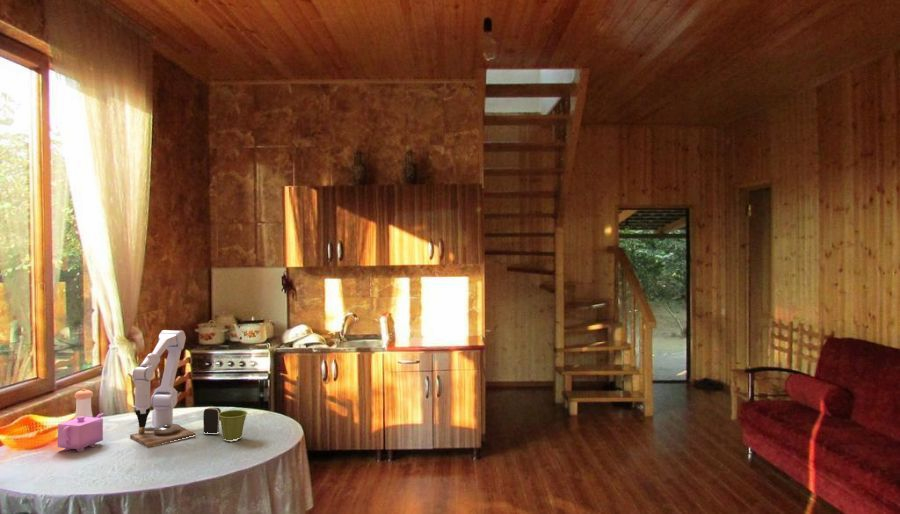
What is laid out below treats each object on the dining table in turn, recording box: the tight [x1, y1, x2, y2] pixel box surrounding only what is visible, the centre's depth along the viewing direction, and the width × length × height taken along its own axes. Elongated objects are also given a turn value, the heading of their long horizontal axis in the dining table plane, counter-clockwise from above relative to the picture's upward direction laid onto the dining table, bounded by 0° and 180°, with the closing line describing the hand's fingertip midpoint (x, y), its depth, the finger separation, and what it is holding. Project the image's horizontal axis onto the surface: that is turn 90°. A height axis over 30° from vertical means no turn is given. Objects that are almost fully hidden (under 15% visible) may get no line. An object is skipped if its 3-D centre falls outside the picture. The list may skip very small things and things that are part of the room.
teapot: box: [57, 412, 104, 453], centre depth 241 cm, size 20×10×12 cm, turn 168°
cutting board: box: [129, 426, 197, 448], centre depth 254 cm, size 18×20×2 cm
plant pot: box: [218, 409, 248, 440], centre depth 252 cm, size 12×12×11 cm
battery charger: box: [202, 407, 222, 433], centre depth 260 cm, size 7×4×11 cm, turn 81°
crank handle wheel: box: [138, 423, 180, 435], centre depth 256 cm, size 16×10×5 cm, turn 103°
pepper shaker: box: [74, 388, 94, 419], centre depth 260 cm, size 7×7×19 cm
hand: (142, 426), depth 252 cm, fingers closed
